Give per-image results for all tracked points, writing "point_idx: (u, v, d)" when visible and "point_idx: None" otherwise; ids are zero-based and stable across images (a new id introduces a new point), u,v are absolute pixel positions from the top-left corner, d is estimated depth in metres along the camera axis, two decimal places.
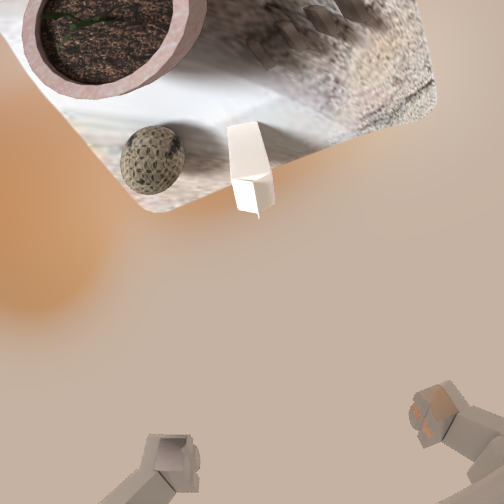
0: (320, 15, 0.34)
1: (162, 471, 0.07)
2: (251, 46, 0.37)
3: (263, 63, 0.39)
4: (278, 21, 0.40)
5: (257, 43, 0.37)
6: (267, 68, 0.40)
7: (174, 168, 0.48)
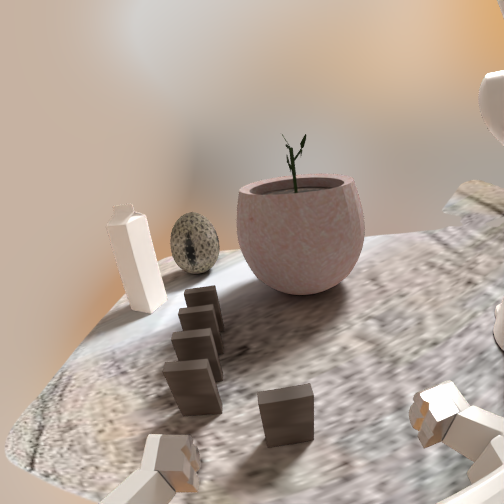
0: (202, 330, 0.37)
1: (162, 471, 0.07)
2: (213, 286, 0.48)
3: (192, 289, 0.48)
4: (222, 348, 0.45)
5: (212, 289, 0.47)
6: (186, 290, 0.48)
7: (178, 233, 0.67)
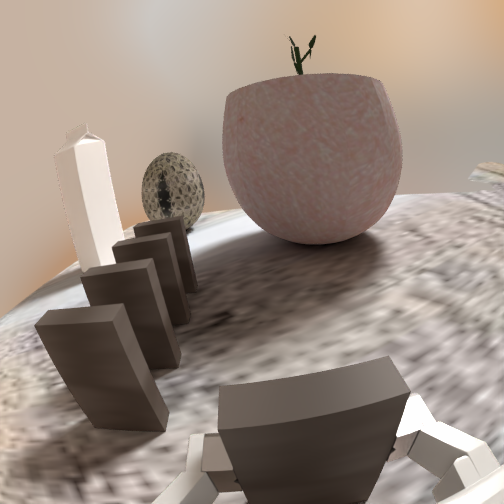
0: (138, 261, 0.19)
1: (210, 472, 0.07)
2: (179, 216, 0.30)
3: (148, 221, 0.30)
4: (188, 314, 0.27)
5: (177, 219, 0.29)
6: (139, 223, 0.30)
7: (150, 174, 0.49)
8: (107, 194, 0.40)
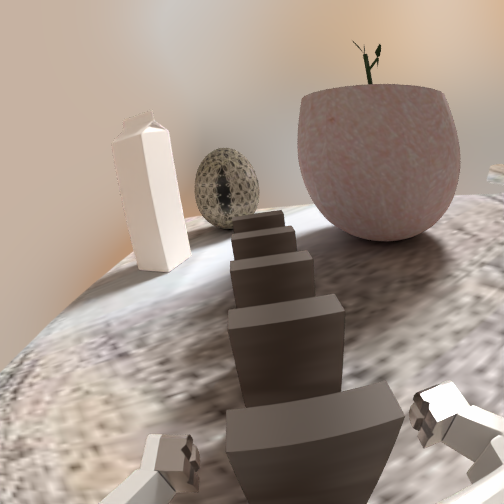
0: (292, 253, 0.19)
1: (162, 471, 0.07)
2: (279, 211, 0.30)
3: (245, 215, 0.30)
4: None
5: (280, 213, 0.29)
6: (235, 217, 0.30)
7: (207, 169, 0.49)
8: (172, 187, 0.40)
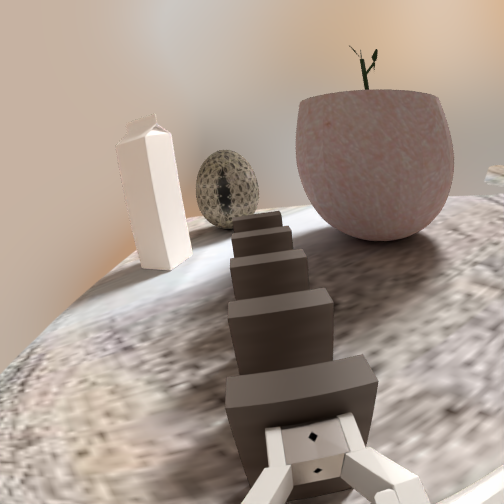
0: (288, 252, 0.21)
1: (295, 463, 0.07)
2: (277, 211, 0.32)
3: (245, 216, 0.32)
4: None
5: (277, 214, 0.31)
6: (235, 217, 0.32)
7: (208, 171, 0.51)
8: (174, 188, 0.42)
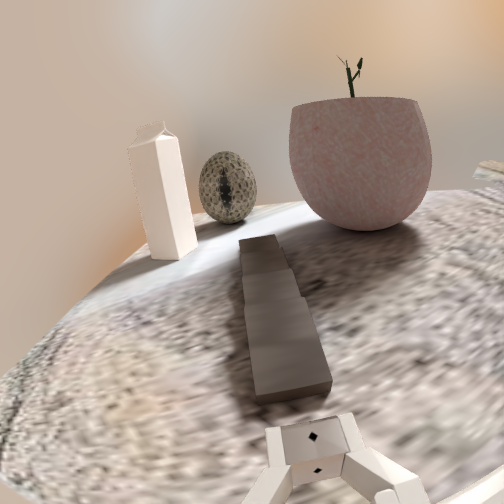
0: None
1: (295, 463, 0.07)
2: None
3: None
4: None
5: None
6: None
7: (211, 170, 0.56)
8: (181, 186, 0.47)
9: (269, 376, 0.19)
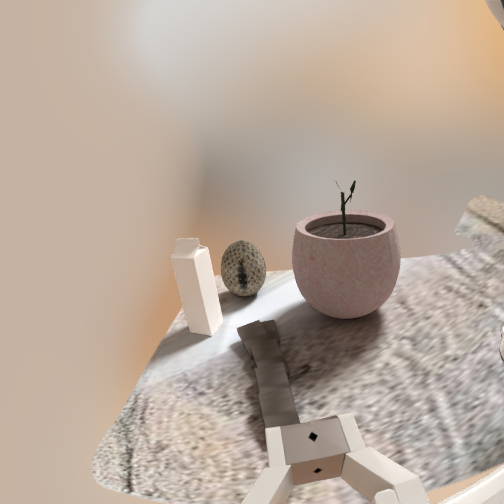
0: None
1: (295, 463, 0.07)
2: None
3: None
4: None
5: None
6: None
7: (231, 260, 0.75)
8: (212, 284, 0.66)
9: None
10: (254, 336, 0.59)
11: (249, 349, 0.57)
